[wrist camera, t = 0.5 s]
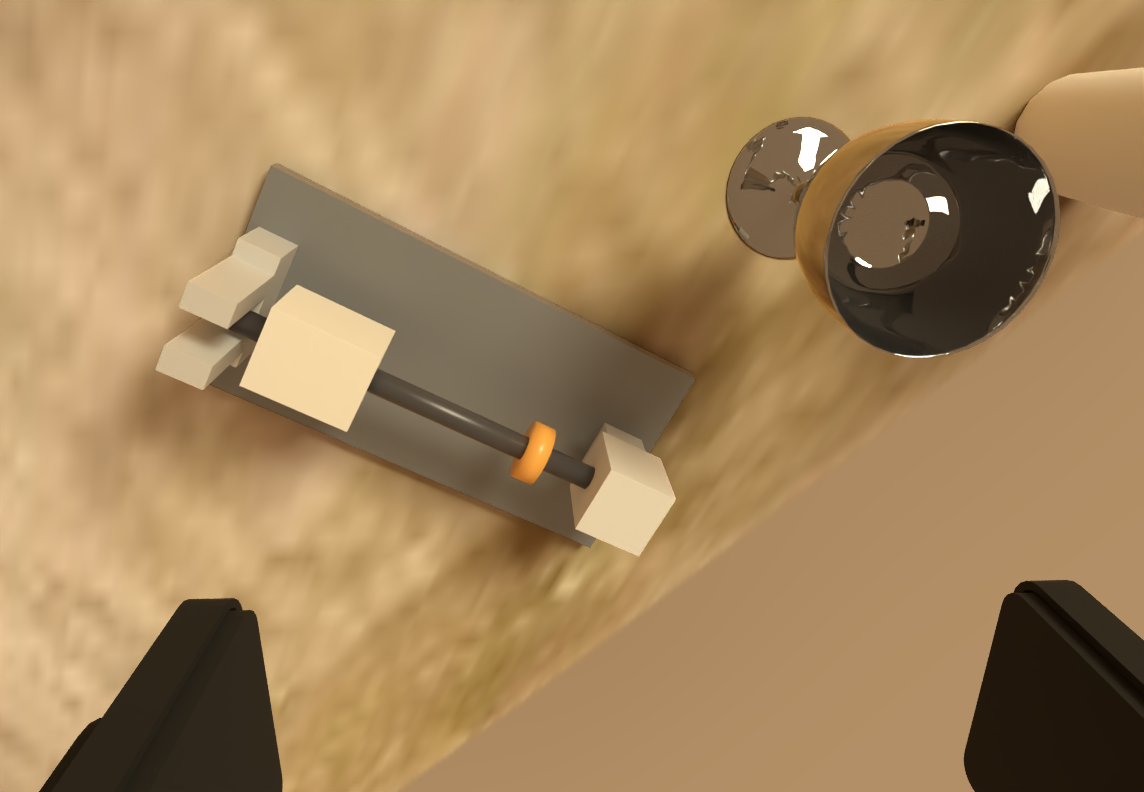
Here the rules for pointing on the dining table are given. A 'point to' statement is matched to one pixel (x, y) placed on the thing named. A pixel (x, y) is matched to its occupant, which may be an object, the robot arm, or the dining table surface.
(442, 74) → the dining table surface
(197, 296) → the board
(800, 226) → the wine glass
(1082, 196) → the beige cup
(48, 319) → the dining table surface
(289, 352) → the sleeve
